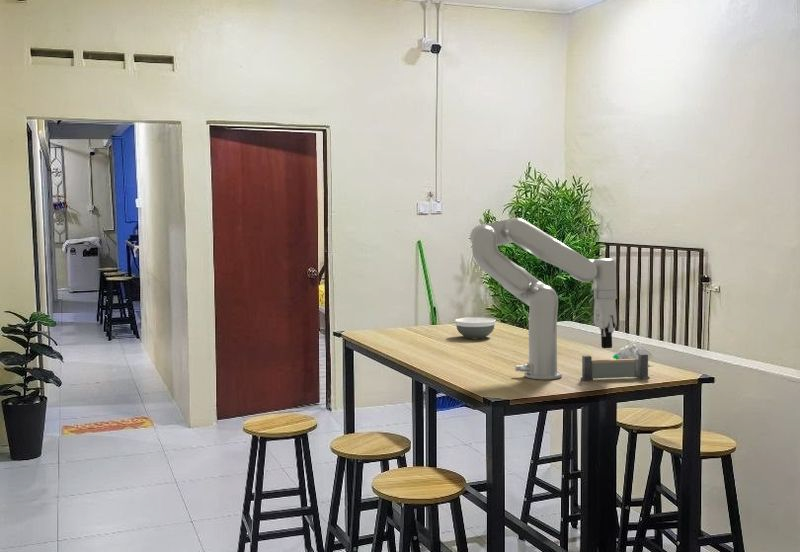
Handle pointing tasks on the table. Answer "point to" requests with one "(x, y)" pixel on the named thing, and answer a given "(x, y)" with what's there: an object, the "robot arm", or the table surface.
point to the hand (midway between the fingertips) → (606, 347)
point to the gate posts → (588, 367)
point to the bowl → (475, 326)
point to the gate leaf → (615, 368)
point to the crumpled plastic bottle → (632, 351)
